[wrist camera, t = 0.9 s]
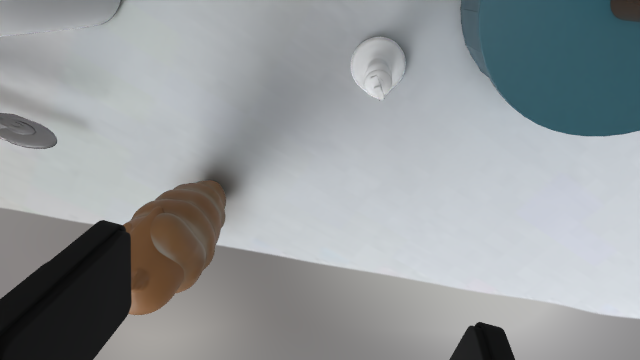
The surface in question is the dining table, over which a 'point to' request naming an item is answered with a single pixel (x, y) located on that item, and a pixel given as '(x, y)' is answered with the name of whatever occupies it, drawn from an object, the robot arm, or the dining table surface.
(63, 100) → the dining table surface
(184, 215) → the cat ice cream
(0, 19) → the milk bottle
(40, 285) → the robot arm
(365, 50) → the chess piece
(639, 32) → the tin lid
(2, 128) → the spaceship
